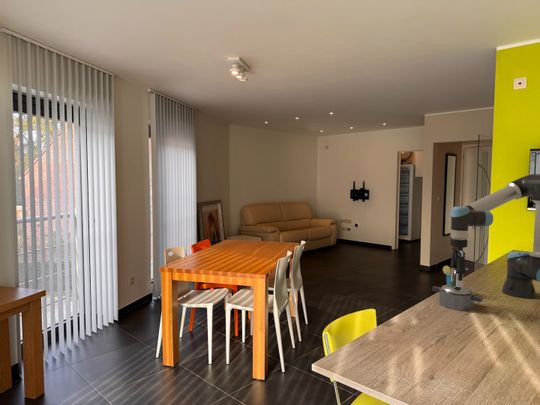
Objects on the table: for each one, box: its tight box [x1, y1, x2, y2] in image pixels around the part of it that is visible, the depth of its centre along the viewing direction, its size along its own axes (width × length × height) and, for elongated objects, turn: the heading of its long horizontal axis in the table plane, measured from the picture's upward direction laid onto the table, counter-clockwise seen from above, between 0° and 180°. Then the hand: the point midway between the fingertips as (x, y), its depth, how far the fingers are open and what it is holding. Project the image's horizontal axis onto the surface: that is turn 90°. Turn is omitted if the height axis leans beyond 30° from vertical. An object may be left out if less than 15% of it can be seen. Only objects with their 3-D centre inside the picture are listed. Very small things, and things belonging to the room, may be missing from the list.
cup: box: [442, 265, 470, 285], centre depth 199 cm, size 14×8×15 cm, turn 44°
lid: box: [441, 268, 472, 295], centre depth 179 cm, size 13×13×10 cm
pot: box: [431, 285, 484, 311], centre depth 180 cm, size 23×15×7 cm, turn 42°
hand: (456, 284), depth 179 cm, fingers open, 9 cm apart
